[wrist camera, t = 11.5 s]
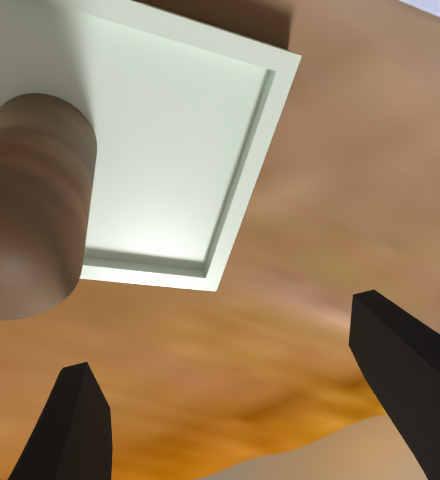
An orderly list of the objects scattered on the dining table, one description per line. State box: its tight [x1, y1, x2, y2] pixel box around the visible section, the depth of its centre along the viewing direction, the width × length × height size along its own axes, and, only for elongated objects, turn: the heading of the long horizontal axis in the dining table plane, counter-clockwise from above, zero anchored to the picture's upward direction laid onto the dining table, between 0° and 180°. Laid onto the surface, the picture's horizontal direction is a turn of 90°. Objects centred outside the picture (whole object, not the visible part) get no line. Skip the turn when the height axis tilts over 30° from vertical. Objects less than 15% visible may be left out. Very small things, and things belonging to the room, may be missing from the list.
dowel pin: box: [0, 93, 97, 320], centre depth 13 cm, size 4×4×8 cm
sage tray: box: [0, 0, 302, 291], centre depth 16 cm, size 18×12×2 cm, turn 73°
